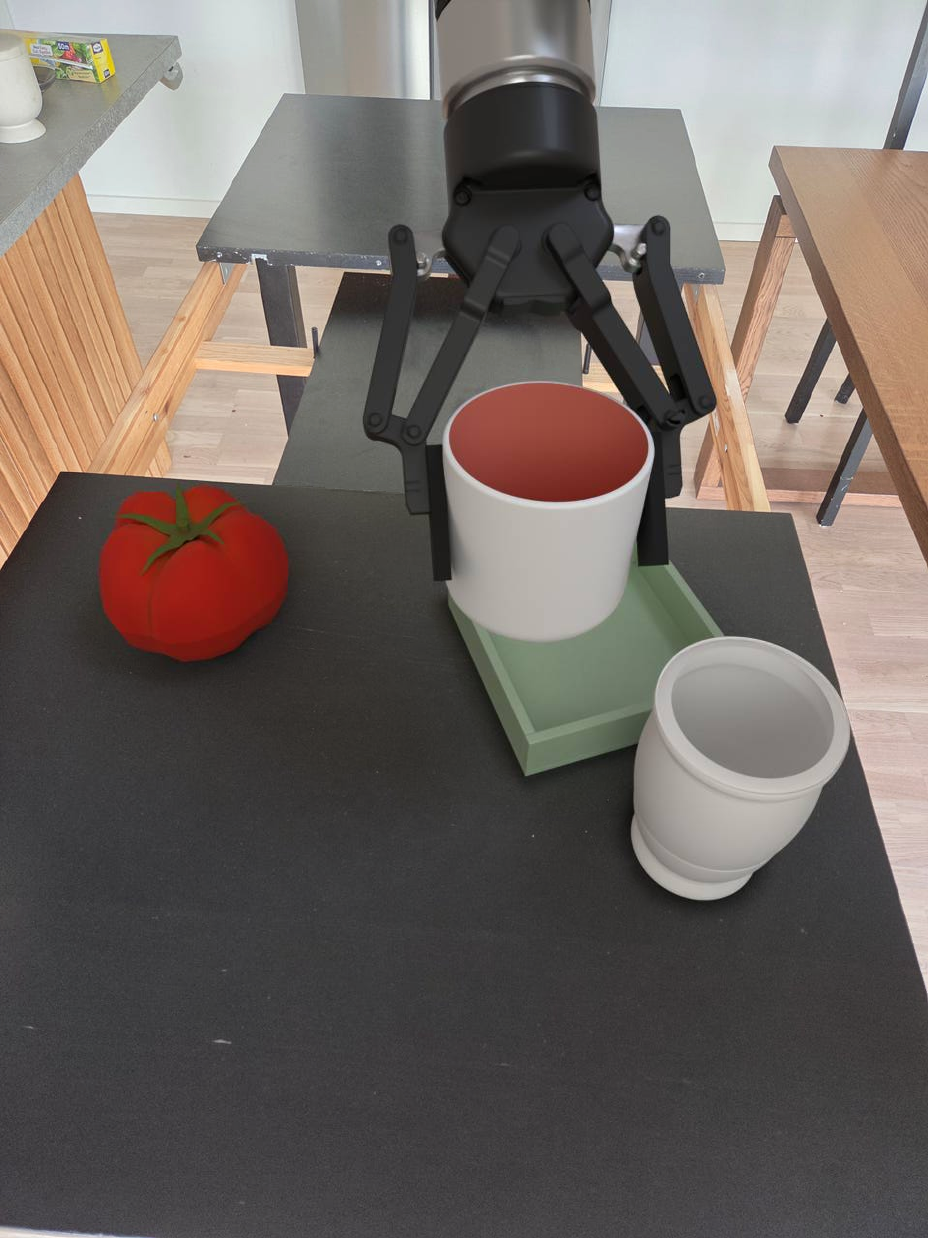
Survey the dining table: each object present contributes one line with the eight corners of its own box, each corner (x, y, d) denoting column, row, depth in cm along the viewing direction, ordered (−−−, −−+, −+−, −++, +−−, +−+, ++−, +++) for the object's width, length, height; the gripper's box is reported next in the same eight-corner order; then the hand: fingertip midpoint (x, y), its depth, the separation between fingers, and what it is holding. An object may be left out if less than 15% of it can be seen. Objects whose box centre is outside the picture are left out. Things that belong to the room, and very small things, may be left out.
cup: (419, 550, 49) (413, 402, 42) (572, 510, 52) (593, 364, 44) (485, 676, 43) (492, 529, 35) (656, 624, 45) (696, 476, 38)
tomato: (328, 612, 70) (311, 502, 61) (191, 719, 63) (149, 612, 54) (224, 542, 76) (195, 432, 67) (87, 633, 68) (33, 523, 59)
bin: (741, 713, 64) (756, 679, 61) (525, 777, 60) (529, 744, 57) (636, 559, 75) (644, 524, 72) (448, 604, 71) (447, 569, 68)
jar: (642, 752, 61) (685, 611, 50) (786, 808, 58) (865, 672, 47) (592, 876, 55) (628, 746, 44) (751, 947, 52) (833, 827, 41)
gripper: (714, 150, 46) (736, 559, 47) (293, 162, 44) (327, 588, 45) (777, 66, 38) (801, 555, 39) (273, 76, 36) (315, 590, 38)
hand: (549, 573), depth 42 cm, fingers closed on cup, 10 cm apart
